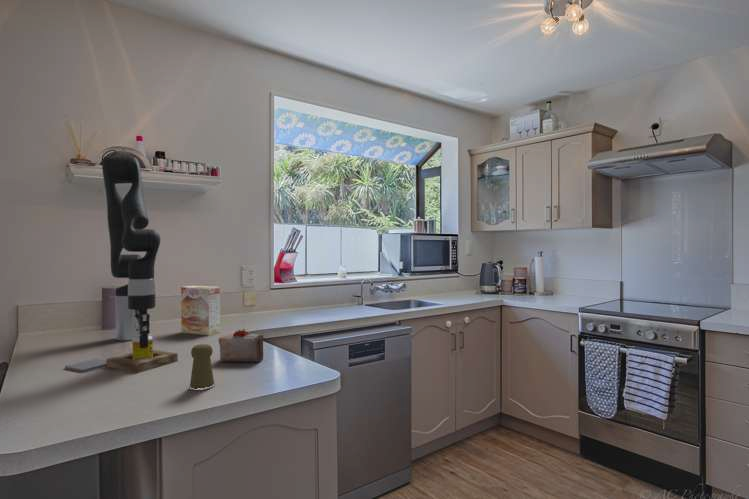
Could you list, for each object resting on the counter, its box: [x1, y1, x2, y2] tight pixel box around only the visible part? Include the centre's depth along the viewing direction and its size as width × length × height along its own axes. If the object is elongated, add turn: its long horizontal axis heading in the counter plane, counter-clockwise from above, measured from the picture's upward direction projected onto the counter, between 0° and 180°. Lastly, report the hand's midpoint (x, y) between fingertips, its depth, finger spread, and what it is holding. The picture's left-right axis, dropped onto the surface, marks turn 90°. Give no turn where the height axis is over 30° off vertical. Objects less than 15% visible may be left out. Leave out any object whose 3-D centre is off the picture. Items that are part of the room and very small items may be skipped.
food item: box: [218, 328, 264, 363], centre depth 138 cm, size 14×8×10 cm, turn 88°
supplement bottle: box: [132, 329, 154, 361], centre depth 134 cm, size 6×6×10 cm
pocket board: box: [105, 349, 179, 373], centre depth 134 cm, size 14×14×2 cm
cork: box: [189, 343, 215, 389], centre depth 112 cm, size 6×6×11 cm
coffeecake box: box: [180, 285, 221, 336], centre depth 181 cm, size 15×7×20 cm, turn 68°
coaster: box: [64, 358, 107, 373], centre depth 131 cm, size 9×9×1 cm
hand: (142, 345), depth 133 cm, fingers open, 8 cm apart
